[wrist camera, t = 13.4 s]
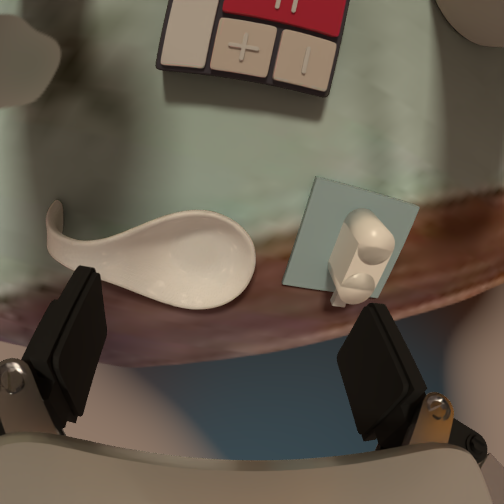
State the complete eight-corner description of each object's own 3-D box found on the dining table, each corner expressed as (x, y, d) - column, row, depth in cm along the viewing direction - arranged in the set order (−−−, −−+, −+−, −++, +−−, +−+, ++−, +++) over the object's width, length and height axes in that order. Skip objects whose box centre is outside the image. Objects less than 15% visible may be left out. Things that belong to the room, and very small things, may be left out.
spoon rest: (266, 209, 33) (273, 242, 27) (240, 297, 38) (241, 339, 32) (56, 170, 29) (21, 194, 23) (59, 259, 35) (33, 293, 29)
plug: (350, 204, 32) (366, 225, 28) (381, 212, 32) (401, 233, 28) (317, 288, 37) (326, 316, 33) (346, 292, 38) (358, 319, 33)
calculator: (331, 99, 24) (152, 69, 21) (317, 96, 28) (161, 70, 25) (355, -10, 19) (178, -45, 16) (338, -1, 22) (184, -30, 20)
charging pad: (315, 176, 31) (316, 178, 30) (417, 205, 33) (419, 207, 32) (281, 281, 37) (282, 284, 37) (375, 295, 39) (377, 297, 39)
